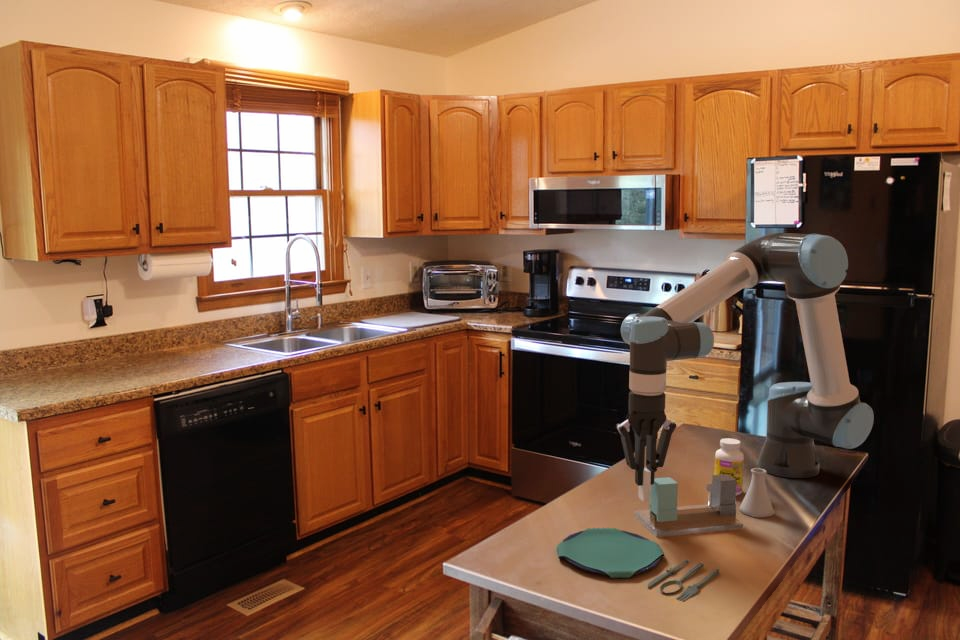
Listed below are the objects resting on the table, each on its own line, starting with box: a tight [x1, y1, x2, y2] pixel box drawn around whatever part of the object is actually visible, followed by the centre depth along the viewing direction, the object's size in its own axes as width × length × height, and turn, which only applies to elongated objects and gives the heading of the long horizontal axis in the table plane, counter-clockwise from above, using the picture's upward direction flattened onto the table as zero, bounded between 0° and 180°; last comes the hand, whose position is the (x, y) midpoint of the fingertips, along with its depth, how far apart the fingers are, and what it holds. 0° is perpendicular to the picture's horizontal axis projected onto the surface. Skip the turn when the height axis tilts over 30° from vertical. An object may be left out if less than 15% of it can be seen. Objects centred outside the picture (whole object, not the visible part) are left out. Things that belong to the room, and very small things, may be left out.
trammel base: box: [633, 474, 744, 538], centre depth 177 cm, size 20×12×11 cm, turn 102°
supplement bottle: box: [713, 437, 745, 496], centre depth 195 cm, size 7×7×13 cm
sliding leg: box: [648, 476, 679, 522], centre depth 175 cm, size 4×9×9 cm, turn 12°
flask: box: [739, 467, 775, 518], centre depth 183 cm, size 7×7×10 cm
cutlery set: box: [556, 527, 720, 602], centre depth 158 cm, size 20×30×2 cm, turn 47°
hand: (644, 499), depth 172 cm, fingers closed
